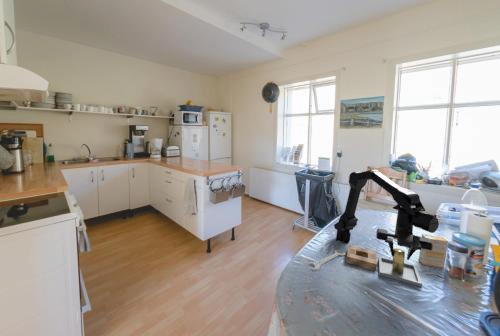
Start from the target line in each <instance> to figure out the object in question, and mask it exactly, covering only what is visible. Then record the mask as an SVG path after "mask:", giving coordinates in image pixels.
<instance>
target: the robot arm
mask: <svg viewBox="0 0 500 336" xmlns="http://www.w3.org/2000/svg"><path fill="white" fill-rule="evenodd" d="M369 180H372V181H373V182H374V183H375V184H377V185H378V186H379V187H381V188H382V189H383V190H385V191H386V192H387V193H389V194H390V196H391V197H392V199H393V201H394V202H396V205H394V206H392V209H394V210H396V211H397V215H396V216H397V217H396V223H395V228H394V229H395V230H394V233H390V232H388V229H384V228H383V229H382V228H377V229H376V232H375V233H376V235H375V237H376V239H377V240H379V241H380V240H381V241H384V242H385V243H387V244H388V246H389V249H390V255H391V257H393V249H394V240H395V241H396V243H397V245H398V246H400V247H405V248H408V250H407V254H406V260H407V261H409V260H410V259H411V257H412V256H413V254H414V253H415V252H416V251H420V250H421V248H422V249H426V250H432V248H433V244H432V242H431V241H430V239H429V238H424V237H422V236H420V235H415V234H414V233H413V231H414V230H413V229H414V227H416V228H417V229H421V230H423V231H425V232H428V233H431V234H434V233H435V232H436V231H437V230H438V228H439V226H440V222H439V219H438V218H437V214H436V213H435V214H434V213H431V212H430V213H429V212H426V208H425V207H424V205H423V203H422V202H421V199H420V195H418V194H419V193H417V192H414V191H413V190H410V189H409V188H408V189H407V188H405V187H402V186H400V185H398V184H397V183H395V182H394V181H393V180H391V179H390V178H388V177H387V176H385V175H384V174H382V173H381V172H380V170H378V169H368V170H367V171H352V172H350V174H349V176H348V184H349V187H350V188H349V193H348V197H347V201H346V205H345V209H344V212H343V213H342V214H341V215H340V217H339V219H338V222H336V223H334V224H333V227H334V229H335V230H336V237H335V241H337V242H341V243H346V244H349V242H350V241H351V236H352V233H351V230H352V231H353V230H354V228H355V227H356V226H357V225H358V222H359V220H358V218H357V217H356V215H355V214H356V210H357V207H358V202H359V198H360V194H361V191H362V189H363V188H364V187H366V185H367V182H368V181H369Z"/></svg>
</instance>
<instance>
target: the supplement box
mask: <svg viewBox="0 0 500 336" xmlns="http://www.w3.org/2000/svg"><path fill="white" fill-rule="evenodd" d="M421 237H424V238H429V239H430V241H431V242H432V244H433V248H432V250H426V249H422V248H421V250H419V254H418V261H419V263H421V265H422V266H427V267H434V268H439V269H444V268H445V263H446V258H447V253H448V252H447V251H448V246H447V244H448V245H449V241H448V240H447V238H445V237H444V236H439V235H431V234H424V233H422V234H421Z"/></svg>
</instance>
